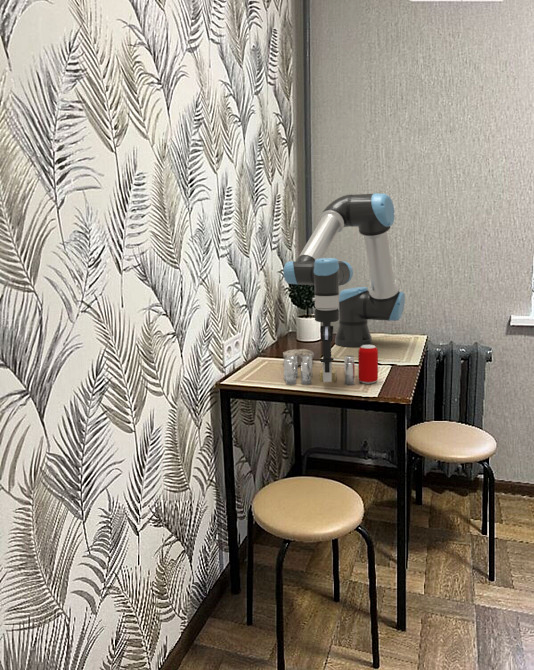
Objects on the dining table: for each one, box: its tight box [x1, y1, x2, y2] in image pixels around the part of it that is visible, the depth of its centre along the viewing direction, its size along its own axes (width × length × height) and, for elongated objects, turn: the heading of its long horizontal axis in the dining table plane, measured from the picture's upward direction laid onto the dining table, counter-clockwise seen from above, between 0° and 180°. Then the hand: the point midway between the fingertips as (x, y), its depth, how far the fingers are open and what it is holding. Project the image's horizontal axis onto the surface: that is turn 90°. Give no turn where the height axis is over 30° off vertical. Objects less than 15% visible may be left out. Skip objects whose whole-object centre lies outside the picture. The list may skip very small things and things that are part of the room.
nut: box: [319, 368, 337, 384], centre depth 204 cm, size 5×5×4 cm
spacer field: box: [283, 355, 356, 386], centre depth 204 cm, size 11×28×7 cm, turn 83°
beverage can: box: [357, 344, 379, 385], centre depth 199 cm, size 6×6×12 cm
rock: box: [282, 348, 315, 367], centre depth 226 cm, size 11×11×6 cm
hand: (327, 381), depth 196 cm, fingers closed
